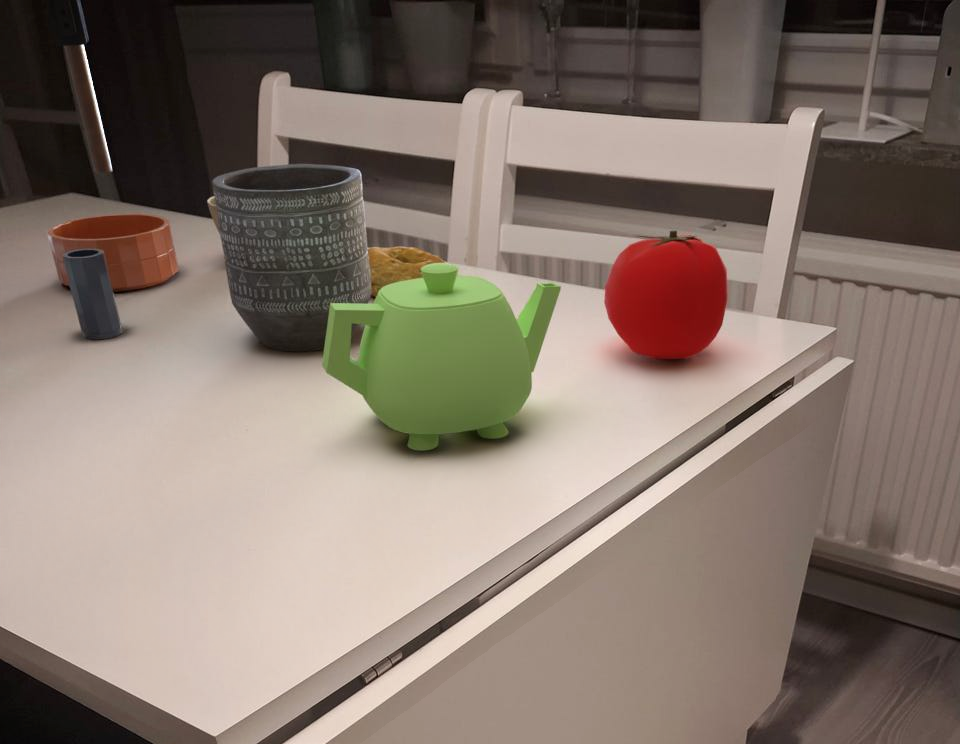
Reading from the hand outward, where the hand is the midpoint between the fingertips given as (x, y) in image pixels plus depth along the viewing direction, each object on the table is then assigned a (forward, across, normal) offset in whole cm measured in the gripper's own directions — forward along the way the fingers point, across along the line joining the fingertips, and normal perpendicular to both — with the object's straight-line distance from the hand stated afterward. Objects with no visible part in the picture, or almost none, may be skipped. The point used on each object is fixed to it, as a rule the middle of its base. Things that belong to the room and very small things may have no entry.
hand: (72, 42), depth 110 cm
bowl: (+24, -1, -1) cm, 24 cm away
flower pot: (+25, -6, +16) cm, 30 cm away
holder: (+24, +22, -2) cm, 33 cm away
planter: (+25, +30, +19) cm, 43 cm away
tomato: (+25, +46, +52) cm, 74 cm away
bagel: (+25, +16, +32) cm, 44 cm away
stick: (+13, 0, 0) cm, 13 cm away
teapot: (+25, +58, +28) cm, 69 cm away
